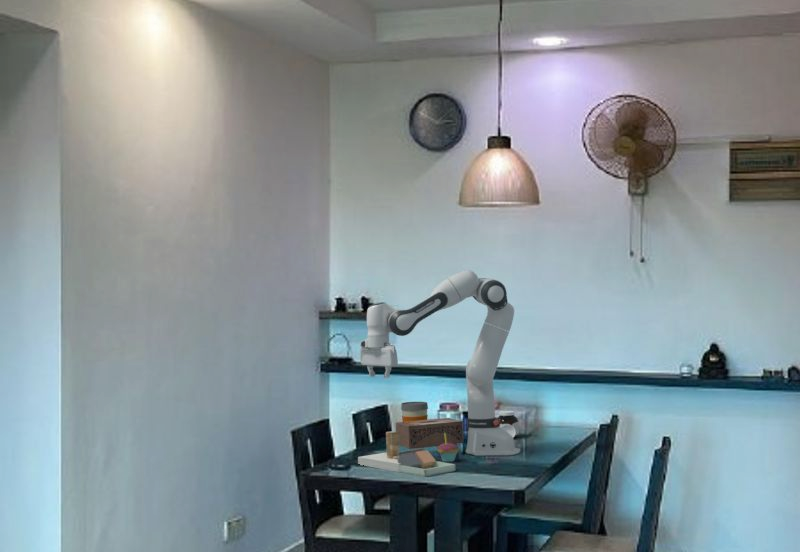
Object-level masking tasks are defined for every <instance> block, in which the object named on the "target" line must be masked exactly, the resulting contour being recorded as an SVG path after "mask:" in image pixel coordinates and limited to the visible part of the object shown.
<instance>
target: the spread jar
mask: <svg viewBox="0 0 800 552" xmlns="http://www.w3.org/2000/svg"><path fill="white" fill-rule="evenodd" d="M498 415H499V416H498V417H496V418H497V419H500V427H501V428H502V429H503V430H505V431H506V432H507V433H509V434H510V435H511V436H512V437H513V439H516V437H518V435H519V433H520V424H519V423H520V421H519V420H518V418H517V416H515V411H514V410H500V411H499V412H498Z"/></svg>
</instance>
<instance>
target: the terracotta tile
mask: <svg viewBox="0 0 800 552" xmlns="http://www.w3.org/2000/svg"><path fill="white" fill-rule="evenodd" d="M415 455H416V457H417V458H418V459H419V461H420V462H421V463H422V464H421V465H420V468H421V469H422V468H428V467H433V466H434V464H435V462H436V461H437V460H436V459H435V457H434V456H433V455H432V454H431V452H429V450H428V449H426V450H424V449H423V451H418V452H415Z"/></svg>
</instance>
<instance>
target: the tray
mask: <svg viewBox="0 0 800 552" xmlns="http://www.w3.org/2000/svg"><path fill="white" fill-rule="evenodd" d="M456 465H457V464H455V463H451V462H444V461H439V460H438V461H437V460H436V462H435V464H434V466H433V467H428V468H422V469H421V468H420V467H419V468H415V467H409V466H403V465H399V472H398V473H403V474H408V475H415V476H420V477H426V478H427V477H432V476H437V475H442V474H443V475H444V474H447V473H452V472H453V473H454V472H456V469H457V468H456Z"/></svg>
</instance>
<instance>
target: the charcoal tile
mask: <svg viewBox="0 0 800 552" xmlns="http://www.w3.org/2000/svg"><path fill="white" fill-rule="evenodd" d="M398 461H399V462H400V463H401V465H403V466H409V467H415V468H419V467H420V465H421V464H422V463H421V462H420V461H419V459H418V458H417V457H416V455H415V454H414V453H413V452H411V453H405V454H401V455H400V457H399V459H398Z"/></svg>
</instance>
